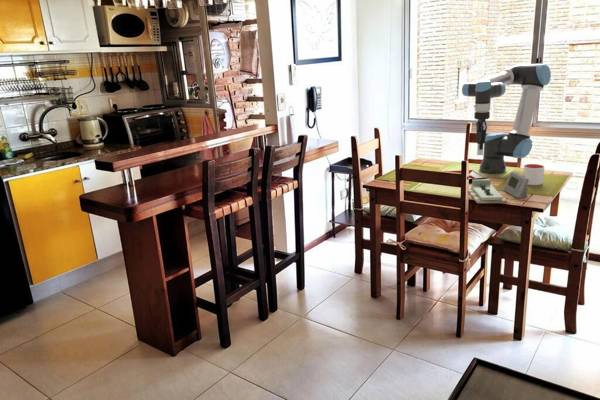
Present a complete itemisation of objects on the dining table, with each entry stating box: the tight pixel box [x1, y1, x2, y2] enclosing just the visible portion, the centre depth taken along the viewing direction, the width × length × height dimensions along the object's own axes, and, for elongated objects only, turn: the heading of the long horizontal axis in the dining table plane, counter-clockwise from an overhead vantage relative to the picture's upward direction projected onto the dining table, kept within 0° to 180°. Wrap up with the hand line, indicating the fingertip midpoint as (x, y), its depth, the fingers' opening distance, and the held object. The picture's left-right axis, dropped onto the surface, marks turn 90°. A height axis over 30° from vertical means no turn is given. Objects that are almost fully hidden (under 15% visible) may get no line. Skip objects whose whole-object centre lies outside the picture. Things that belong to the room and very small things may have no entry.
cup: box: [522, 163, 545, 187], centre depth 250 cm, size 10×10×10 cm
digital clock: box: [503, 171, 529, 199], centre depth 234 cm, size 16×9×11 cm, turn 170°
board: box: [468, 183, 508, 204], centre depth 237 cm, size 29×14×4 cm, turn 173°
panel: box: [470, 178, 504, 200], centre depth 234 cm, size 22×10×4 cm, turn 173°
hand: (479, 154), depth 247 cm, fingers closed
